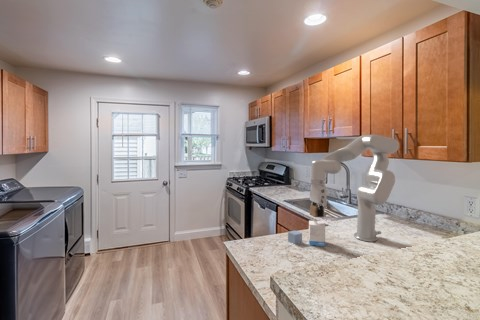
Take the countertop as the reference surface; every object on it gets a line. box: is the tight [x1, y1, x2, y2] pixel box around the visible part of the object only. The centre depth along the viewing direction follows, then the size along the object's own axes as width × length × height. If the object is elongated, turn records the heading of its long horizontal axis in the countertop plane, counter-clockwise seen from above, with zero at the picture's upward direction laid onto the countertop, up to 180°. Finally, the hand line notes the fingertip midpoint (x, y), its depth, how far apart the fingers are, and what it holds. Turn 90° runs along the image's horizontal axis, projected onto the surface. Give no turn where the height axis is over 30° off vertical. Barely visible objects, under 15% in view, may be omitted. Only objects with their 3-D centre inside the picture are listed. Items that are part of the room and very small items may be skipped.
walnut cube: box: [309, 204, 325, 218], centre depth 139 cm, size 6×6×6 cm
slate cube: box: [287, 229, 303, 245], centre depth 142 cm, size 6×6×6 cm
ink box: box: [308, 217, 326, 247], centre depth 140 cm, size 9×8×13 cm
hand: (316, 214), depth 139 cm, fingers closed on walnut cube, 5 cm apart
